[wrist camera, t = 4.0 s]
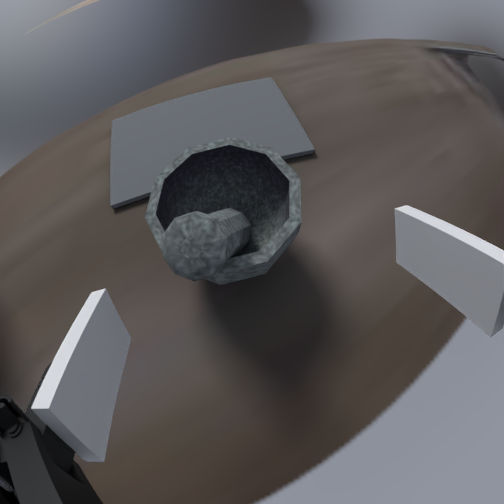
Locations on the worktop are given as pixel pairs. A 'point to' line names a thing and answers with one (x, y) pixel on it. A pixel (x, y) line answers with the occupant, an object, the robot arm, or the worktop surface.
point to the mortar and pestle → (225, 210)
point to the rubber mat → (199, 132)
